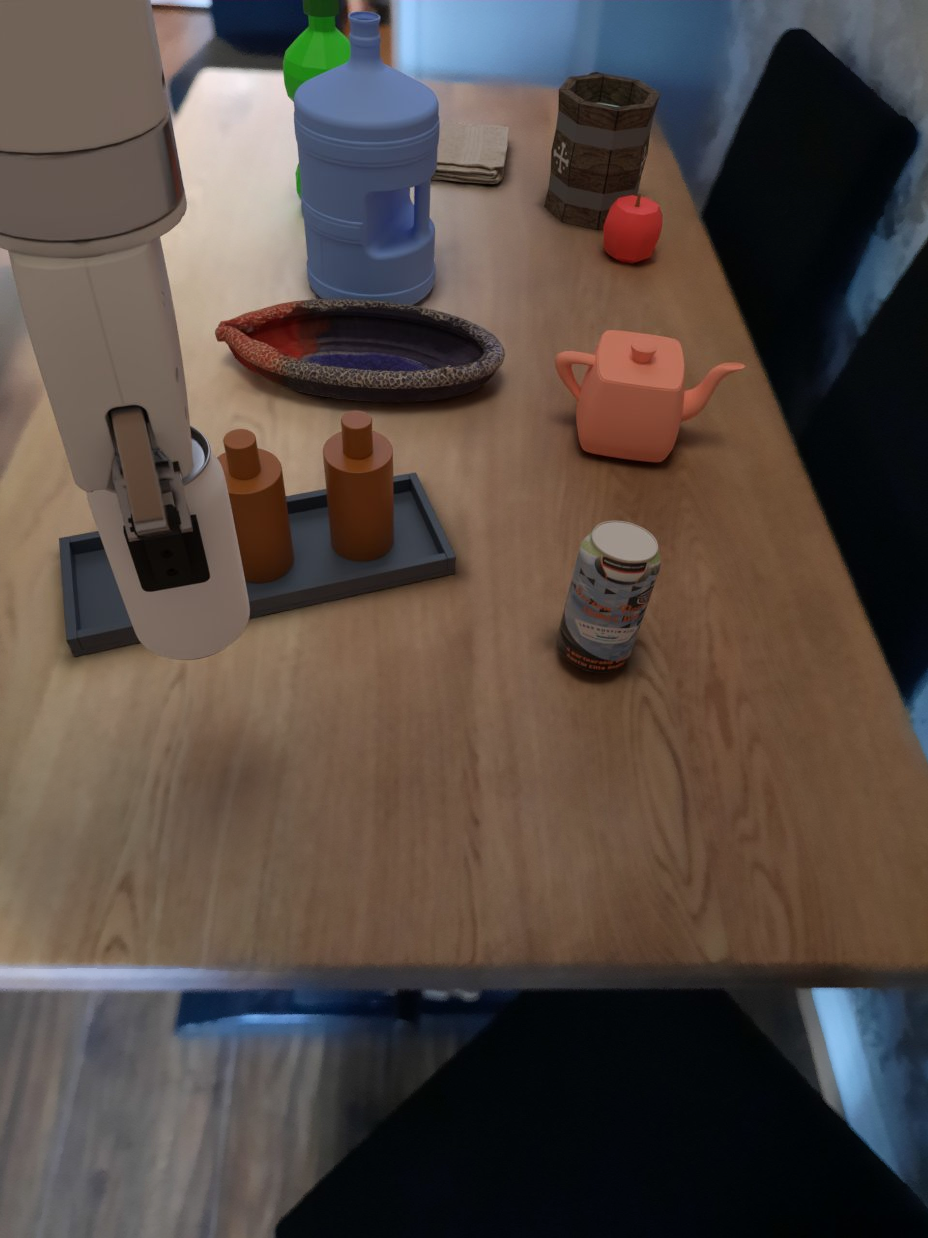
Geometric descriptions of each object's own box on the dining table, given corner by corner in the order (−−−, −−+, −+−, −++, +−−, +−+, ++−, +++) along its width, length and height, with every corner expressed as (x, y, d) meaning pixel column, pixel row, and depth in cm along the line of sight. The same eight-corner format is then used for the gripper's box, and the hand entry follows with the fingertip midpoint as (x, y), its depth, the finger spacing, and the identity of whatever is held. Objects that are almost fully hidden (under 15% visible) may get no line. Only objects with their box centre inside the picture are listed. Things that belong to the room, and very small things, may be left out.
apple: (638, 276, 111) (651, 214, 105) (586, 255, 114) (596, 194, 108) (667, 254, 115) (682, 193, 109) (616, 234, 118) (628, 174, 112)
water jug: (287, 300, 102) (256, 25, 81) (337, 242, 112) (322, -16, 91) (410, 327, 100) (412, 51, 79) (450, 266, 110) (462, 6, 88)
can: (218, 563, 52) (181, 397, 43) (272, 630, 49) (244, 466, 40) (116, 609, 49) (53, 442, 40) (166, 683, 46) (110, 520, 37)
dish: (495, 429, 88) (500, 387, 85) (203, 396, 89) (195, 354, 85) (506, 346, 98) (511, 306, 95) (244, 318, 99) (237, 277, 95)
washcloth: (422, 181, 125) (423, 159, 123) (434, 134, 137) (435, 113, 135) (503, 189, 125) (505, 167, 123) (508, 140, 137) (510, 119, 135)
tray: (74, 657, 67) (66, 640, 65) (66, 555, 74) (58, 537, 72) (455, 573, 75) (456, 556, 73) (415, 488, 82) (416, 471, 80)
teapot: (550, 389, 93) (564, 301, 85) (715, 412, 92) (744, 325, 84) (540, 455, 86) (554, 364, 78) (719, 481, 85) (752, 392, 77)
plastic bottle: (362, 232, 114) (354, 10, 95) (285, 222, 115) (262, -1, 96) (378, 199, 121) (374, -14, 102) (306, 190, 122) (288, -24, 102)
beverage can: (548, 674, 68) (571, 570, 59) (563, 607, 73) (586, 502, 64) (626, 692, 68) (661, 590, 58) (636, 623, 72) (670, 519, 63)
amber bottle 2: (339, 567, 74) (329, 447, 64) (324, 524, 77) (312, 403, 67) (401, 554, 75) (401, 435, 65) (384, 512, 78) (381, 392, 69)
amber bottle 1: (234, 589, 71) (207, 468, 62) (223, 544, 75) (195, 422, 65) (300, 575, 73) (284, 455, 63) (286, 531, 76) (269, 410, 66)
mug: (645, 230, 119) (671, 113, 108) (549, 227, 118) (565, 108, 107) (621, 171, 132) (642, 59, 120) (534, 167, 131) (547, 55, 119)
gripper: (-35, 83, 35) (85, 440, 48) (-62, 304, 24) (101, 680, 38) (157, 76, 36) (221, 422, 50) (210, 278, 26) (272, 645, 40)
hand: (169, 530), depth 44 cm, fingers closed on can, 6 cm apart
